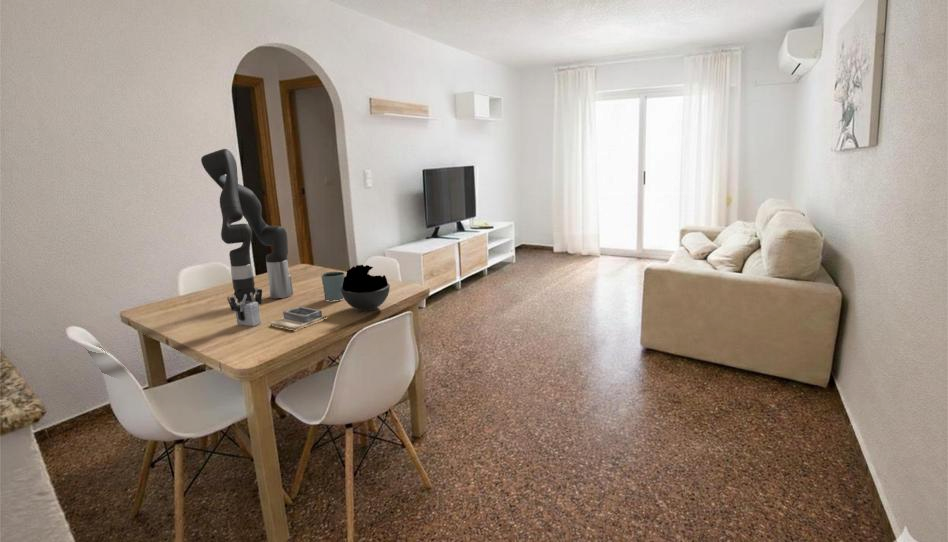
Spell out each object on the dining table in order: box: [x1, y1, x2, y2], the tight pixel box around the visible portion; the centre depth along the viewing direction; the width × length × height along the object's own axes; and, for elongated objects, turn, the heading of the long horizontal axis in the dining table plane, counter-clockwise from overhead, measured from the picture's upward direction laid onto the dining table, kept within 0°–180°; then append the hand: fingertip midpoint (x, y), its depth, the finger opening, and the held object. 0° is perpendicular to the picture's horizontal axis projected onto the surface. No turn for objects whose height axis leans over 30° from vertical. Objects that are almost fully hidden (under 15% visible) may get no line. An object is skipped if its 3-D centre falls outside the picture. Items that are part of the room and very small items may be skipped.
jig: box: [269, 306, 328, 330], centre depth 194 cm, size 16×14×4 cm
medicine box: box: [234, 301, 262, 327], centre depth 193 cm, size 8×4×9 cm, turn 71°
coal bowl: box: [341, 264, 391, 311], centre depth 208 cm, size 20×20×19 cm
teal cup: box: [321, 271, 346, 301], centre depth 224 cm, size 10×10×12 cm
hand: (248, 317), depth 193 cm, fingers closed on medicine box, 5 cm apart
